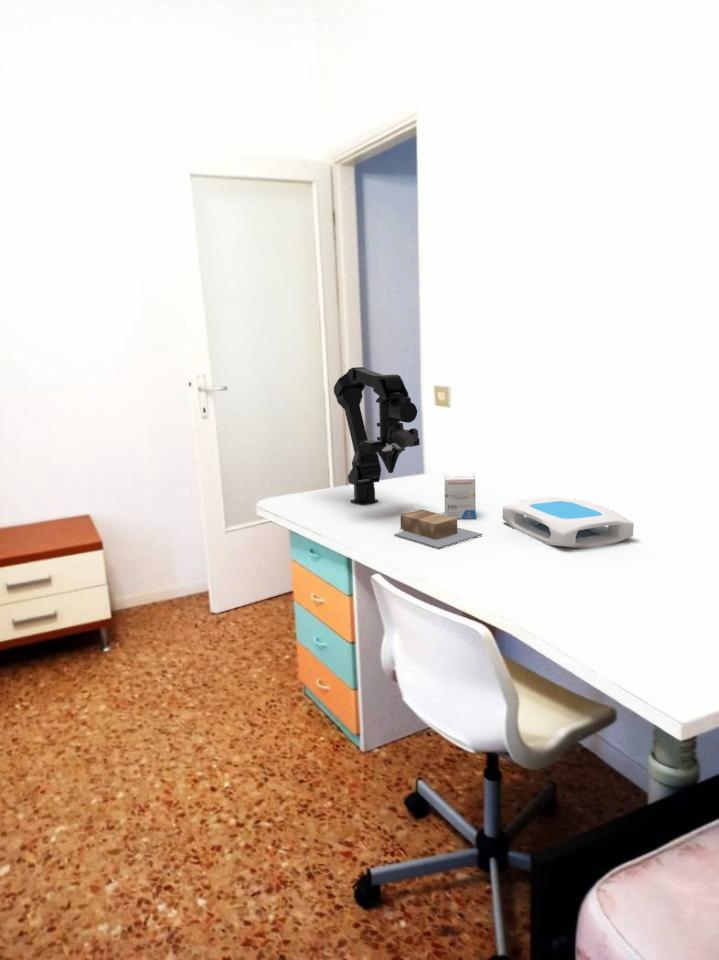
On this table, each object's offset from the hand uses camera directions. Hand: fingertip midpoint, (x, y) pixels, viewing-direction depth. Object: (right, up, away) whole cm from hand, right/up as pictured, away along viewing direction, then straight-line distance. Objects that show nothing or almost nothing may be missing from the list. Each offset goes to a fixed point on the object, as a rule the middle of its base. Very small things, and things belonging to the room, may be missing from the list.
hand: (390, 472), depth 201 cm
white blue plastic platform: (+44, -16, -21) cm, 51 cm away
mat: (+11, -17, -22) cm, 29 cm away
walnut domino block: (+5, -13, -14) cm, 20 cm away
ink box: (+20, -12, -2) cm, 23 cm away
